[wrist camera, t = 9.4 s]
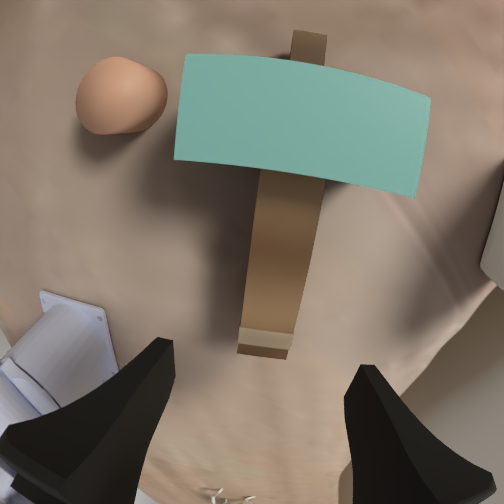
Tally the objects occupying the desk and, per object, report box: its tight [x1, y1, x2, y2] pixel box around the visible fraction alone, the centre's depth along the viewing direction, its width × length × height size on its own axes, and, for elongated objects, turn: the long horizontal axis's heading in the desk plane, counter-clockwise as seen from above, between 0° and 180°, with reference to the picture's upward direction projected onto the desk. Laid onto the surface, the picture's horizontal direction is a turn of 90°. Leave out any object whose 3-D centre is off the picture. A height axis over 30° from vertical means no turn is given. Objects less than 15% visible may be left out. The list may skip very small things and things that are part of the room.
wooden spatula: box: [237, 30, 327, 360], centre depth 15 cm, size 18×3×4 cm, turn 173°
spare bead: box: [76, 57, 168, 135], centre depth 14 cm, size 4×4×4 cm
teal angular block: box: [174, 54, 431, 198], centre depth 12 cm, size 4×9×7 cm, turn 83°
